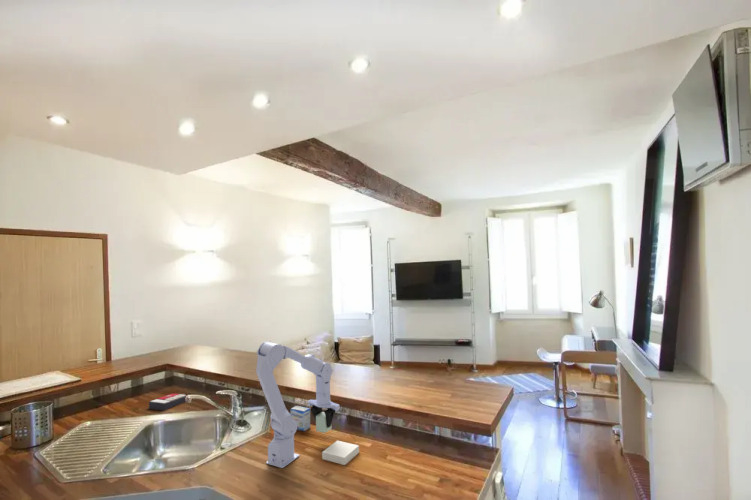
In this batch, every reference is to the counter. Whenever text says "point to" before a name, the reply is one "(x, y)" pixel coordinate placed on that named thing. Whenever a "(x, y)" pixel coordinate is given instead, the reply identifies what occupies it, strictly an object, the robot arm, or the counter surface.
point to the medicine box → (301, 417)
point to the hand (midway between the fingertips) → (323, 425)
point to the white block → (340, 452)
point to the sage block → (322, 423)
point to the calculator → (167, 402)
